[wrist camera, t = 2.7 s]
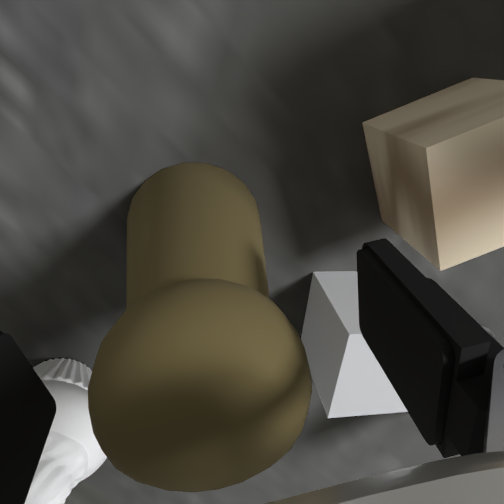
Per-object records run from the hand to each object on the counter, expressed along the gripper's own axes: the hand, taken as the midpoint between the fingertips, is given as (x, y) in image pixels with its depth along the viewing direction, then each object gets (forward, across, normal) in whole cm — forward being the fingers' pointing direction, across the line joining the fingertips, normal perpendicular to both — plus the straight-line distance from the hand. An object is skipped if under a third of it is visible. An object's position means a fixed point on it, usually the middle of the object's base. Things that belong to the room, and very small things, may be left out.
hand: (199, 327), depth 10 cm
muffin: (+8, +9, +8) cm, 14 cm away
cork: (+8, 0, +1) cm, 8 cm away
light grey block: (+8, -7, +8) cm, 13 cm away
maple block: (+8, -11, 0) cm, 13 cm away
